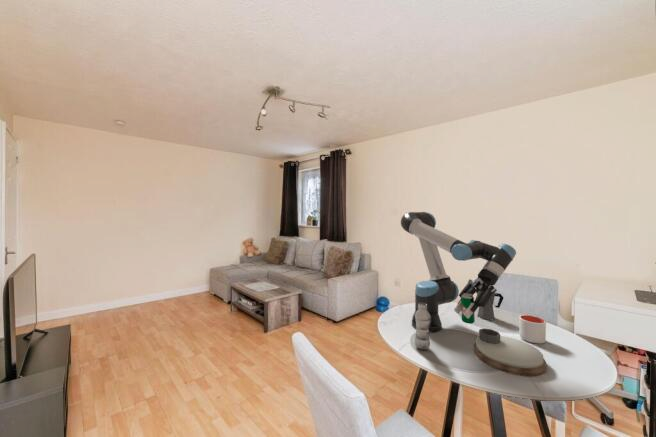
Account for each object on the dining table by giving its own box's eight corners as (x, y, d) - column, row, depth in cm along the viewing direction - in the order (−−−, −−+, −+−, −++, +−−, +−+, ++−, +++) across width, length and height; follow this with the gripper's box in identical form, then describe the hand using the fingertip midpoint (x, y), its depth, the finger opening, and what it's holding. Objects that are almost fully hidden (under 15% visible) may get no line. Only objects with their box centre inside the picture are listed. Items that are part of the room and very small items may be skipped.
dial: (555, 359, 105) (555, 346, 105) (522, 375, 95) (522, 360, 95) (493, 334, 127) (493, 323, 127) (461, 344, 117) (461, 332, 117)
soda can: (459, 319, 118) (458, 293, 118) (470, 319, 118) (469, 292, 118) (465, 324, 113) (465, 296, 113) (477, 323, 113) (476, 296, 113)
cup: (550, 345, 121) (550, 324, 121) (525, 343, 123) (526, 322, 123) (537, 335, 131) (538, 315, 130) (515, 333, 132) (515, 314, 132)
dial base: (471, 362, 107) (471, 356, 107) (476, 338, 128) (476, 333, 128) (550, 384, 93) (550, 378, 93) (542, 353, 114) (542, 348, 114)
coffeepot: (470, 315, 156) (470, 285, 156) (477, 311, 162) (478, 282, 162) (499, 324, 144) (500, 291, 144) (506, 320, 150) (506, 288, 149)
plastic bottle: (418, 343, 123) (418, 300, 123) (432, 348, 118) (433, 304, 118) (411, 348, 119) (412, 304, 118) (426, 353, 114) (426, 308, 113)
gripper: (513, 283, 111) (483, 327, 107) (479, 274, 128) (451, 312, 124) (503, 272, 109) (471, 316, 105) (469, 264, 127) (441, 302, 123)
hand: (460, 314), depth 115 cm, fingers closed on soda can, 5 cm apart
